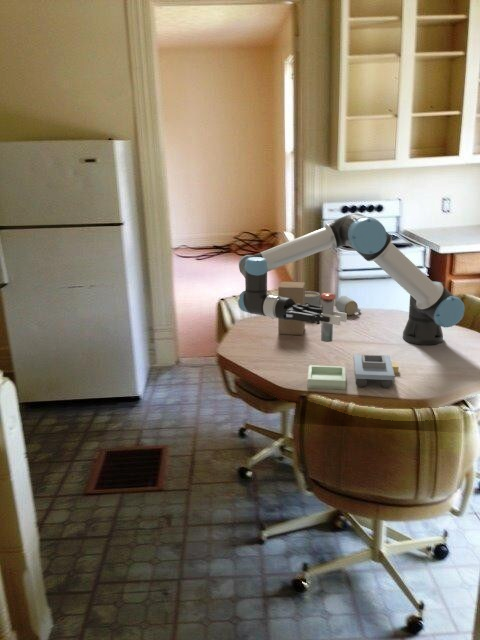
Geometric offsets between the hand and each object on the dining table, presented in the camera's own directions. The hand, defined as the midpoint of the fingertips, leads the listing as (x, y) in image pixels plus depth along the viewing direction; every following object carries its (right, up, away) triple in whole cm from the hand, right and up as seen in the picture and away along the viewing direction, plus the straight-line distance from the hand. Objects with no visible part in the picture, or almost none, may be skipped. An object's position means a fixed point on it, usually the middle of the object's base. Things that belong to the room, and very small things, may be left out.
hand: (342, 319), depth 176 cm
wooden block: (-11, -5, +60) cm, 61 cm away
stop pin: (-4, -7, +6) cm, 10 cm away
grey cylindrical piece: (0, +2, +83) cm, 83 cm away
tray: (-4, -20, +10) cm, 23 cm away
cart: (+13, -20, +11) cm, 26 cm away
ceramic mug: (+18, +3, +83) cm, 85 cm away
